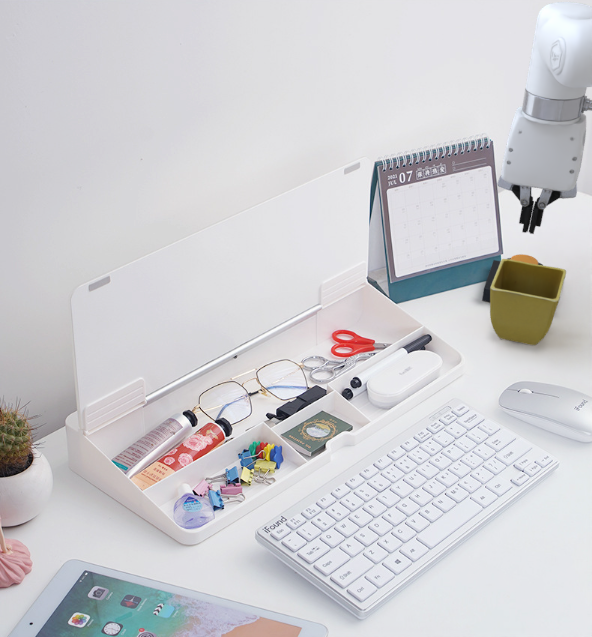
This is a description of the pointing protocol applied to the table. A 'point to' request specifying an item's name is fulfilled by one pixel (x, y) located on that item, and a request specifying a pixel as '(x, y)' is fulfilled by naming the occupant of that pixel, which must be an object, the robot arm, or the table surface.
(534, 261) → the switch button
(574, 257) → the table surface
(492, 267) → the switch
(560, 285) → the flower pot
